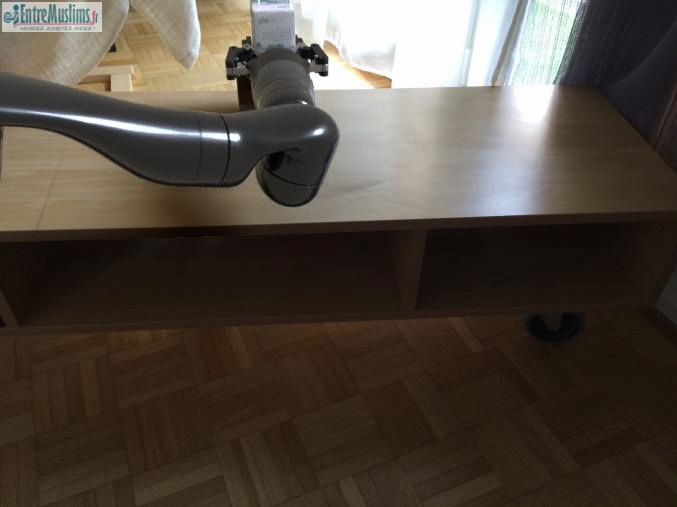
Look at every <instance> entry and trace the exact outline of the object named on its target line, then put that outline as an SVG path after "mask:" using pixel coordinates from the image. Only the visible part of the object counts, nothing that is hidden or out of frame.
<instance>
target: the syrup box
mask: <svg viewBox="0 0 677 507" xmlns="http://www.w3.org/2000/svg"><path fill="white" fill-rule="evenodd" d="M249 11H250V26H251V28H250V29H251V40H252V46H253V47H255V46H259V47H260V48H262V49H264V50H265V51H267V50H270V49H274V48H285V49H288V48H289V47H290V46H291V45H295V35H296V12H295V8H294V6H293V2H292V0H249Z"/></svg>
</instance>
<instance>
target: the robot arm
mask: <svg viewBox="0 0 677 507" xmlns="http://www.w3.org/2000/svg"><path fill="white" fill-rule="evenodd" d="M241 47H242V48H241ZM241 47H238V46H236V45H231V46H229V47H228V50H227V53H226V57H225V59H224V65H225V76H226V80H227V81H236V76H240V75H246V76H247V78H249V79H250V80H251V86H252V94H253V101H254V106H255V108H256V110H250V111H244V112H239V111H238V112H233V113H221V112H214V111H213V112H212V111H203V110H194V109H193V110H192V109H184V108H183V109H182V108H173V107H165V106H164V107H163V106H158V105H150V104H144V103H139V102H134V101H129V100H125V99H120V98H116V97H113V96H108V95H104V94H100V93H96V92H92V91H89V90H85V89H82V88H79V87H78V88H77V87H73V86H71V85H65V84H62V83H58V82H54V81H50V80H46V79H42V78H36V77H34V76H33V77H32V76H27V75H24V74H19V73H16V72H12V71H7V70H3V69H0V181H1V179H2V170H3V150H4V149H3V148H4V132H5V128H22V129H33V130H40V131H44V132H47V133H48V132H49V133H52V134H55V135H58V136H59V135H60V136H62V137H64V138H67V139H69V140H72V141H74V142H76V143H78V144H80V145H82V146H84V147H85V148H87V149H90V150H91V151H92V152H94V153H96V154H98V155H100V156H101V157H102V158H104V159H106V160H107V161H109V162H110V163H112V164H114V165H115V166H116V167H119V168H120V169H122V170H124V171H125V172H127V173H128V174H130V175H131V176H134V177H136V178H138V179H141V180H144V181H146V182H149V183H152V184H155V185H161V186H164V187H165V186H166V187H174V188H206V189H207V188H208V189H230V188H236V187H238V186H240V185H242V184H243V183H244V182H245V181H246V180H247V179H248V178H249V176H250V175H251V174H252V172H253V170H254V175H255V178H256V179H255V180H256V182H257V185H258V186H259V188H260V190H261V191H262V193H263V194H264V195H265V196H266V197H267V198H268V199H269V200H271V201H272V202H273V203H275V204H277V205H279V206H282V207H286V208H299V207H303V206H306V205H308V204H310V203H312V201H314V199H316V197H317V196H318V195H319V193H320V191H321V189H322V187H323V184H324V182H325V179H326V177H327V174H328V172H329V170H330V167H331V165H332V163H333V160H334V158H335V154H336V153H337V150H338V147H339V145H340V140H341V130H340V128H339V125H338V123H337V121H336V120H335V118H334V117H333V116H332V115H331V114H329V113H328V112H327V111H325V110H324V109H322V108H320V107H318V104H317V101H316V94H315V93H316V92H315V84H314V82H313V79H312V78H311V76H310V74H311V73H314V74H318V75H319V76H320V77H323V78H326V77H329V65H330V64H329V63H330V62H329V58H330V57H329V56H328V54H326V52H325V51H324V49H323V48H322V47H321V46H320V44H319V43H316V42H315V43H314V42H313V43H311V44H310V45H309V46H308V45H307V46H306V42H304V40H303V38H302V37H299V36H298V34H295V45H291V46H290V47H289V48H288V49H285V48H274V49H270V50H267V51H265V50H264V49H262V48H260V47H259V46H255V47H253V45H252V35H246V36H245V39H244V38H243V39H242V40H241ZM238 48H240V49H238ZM306 59H308V60H306ZM309 61H310V62H309ZM241 62H243V63H244V64H245V65H242V63H241Z"/></svg>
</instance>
